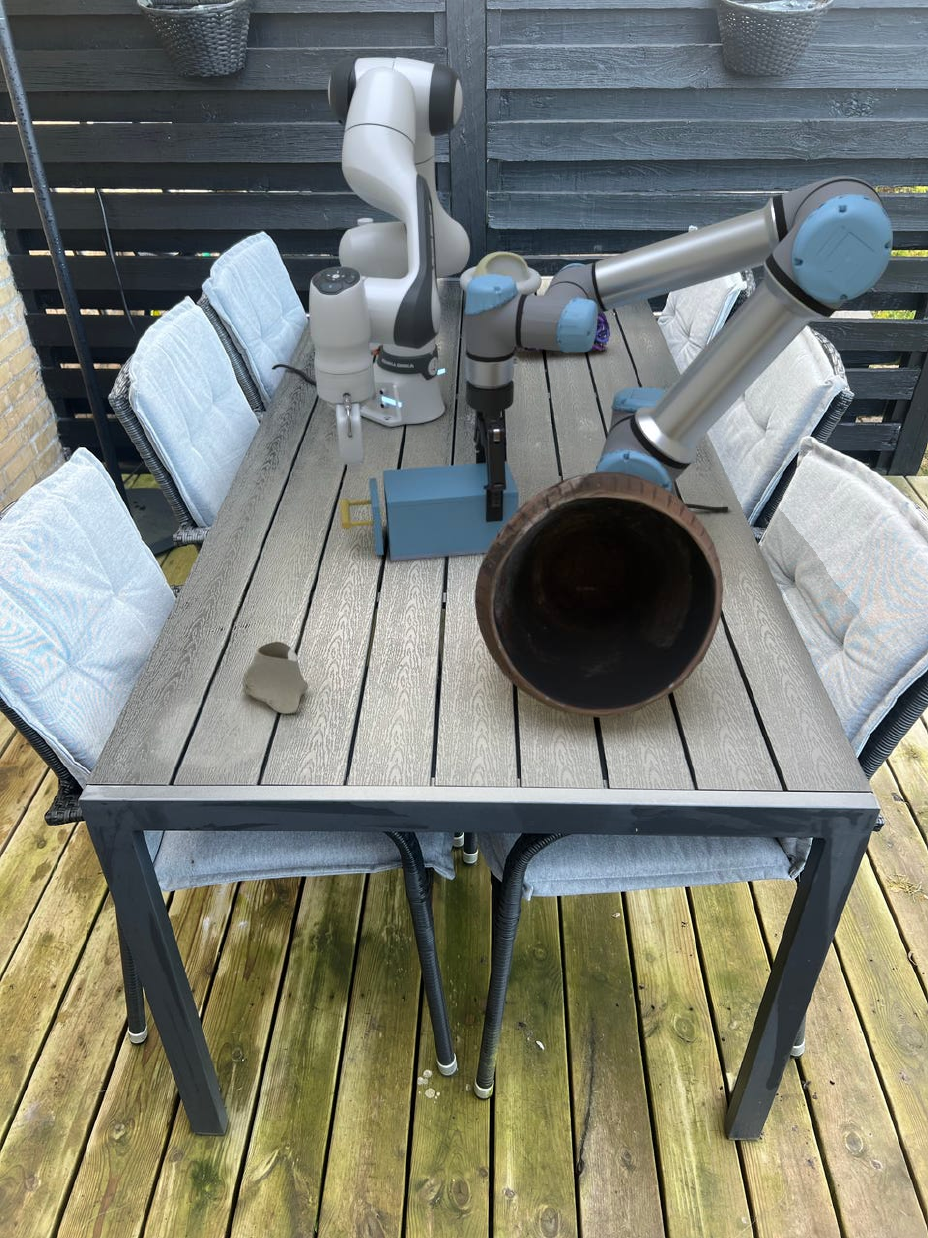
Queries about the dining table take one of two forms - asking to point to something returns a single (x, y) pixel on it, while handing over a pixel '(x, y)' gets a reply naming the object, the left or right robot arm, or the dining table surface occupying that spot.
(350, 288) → the left robot arm
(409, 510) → the blue open box
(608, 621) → the pot
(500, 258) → the hat
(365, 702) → the dining table surface
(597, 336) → the purple fibrous block
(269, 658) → the grey flared pouch
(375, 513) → the drawer
